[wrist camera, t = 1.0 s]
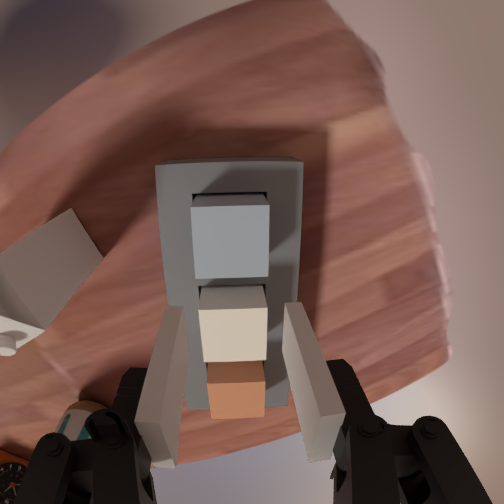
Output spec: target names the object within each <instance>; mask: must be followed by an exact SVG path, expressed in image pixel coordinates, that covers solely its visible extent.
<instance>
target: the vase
mask: <svg viewBox="0 0 504 504" xmlns="http://www.w3.org/2000/svg"><path fill="white" fill-rule="evenodd" d="M105 408H106V409H108V408H107V407H105V406H103V405H101V404H99V403H96V402H93V401H87V400H83V401H78V402H75V403H73V404H72V405H71V406H69V407H68V409H67V410H66V411H65V413H64V414H63V416H62V418H61V420H60V421H59V423H58V426H57V428H56V430H55V433H61V434H63V435H65V436H66V437H67V438H68V439H69V440H70V441H75V440H84V439H89V438H91V437H90V435H89V433H88V431H87V430H86V428H85V426H84V424H85V421H86V419H87V417H88V416H89V415H90V414H91V413H93V412H95V411H97V410H100V409H105Z"/></svg>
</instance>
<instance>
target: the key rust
mask: <svg viewBox="0 0 504 504" xmlns="http://www.w3.org/2000/svg"><path fill="white" fill-rule="evenodd" d="M207 390H208V397H209V404H210V411H211V418H212V419H229V418H253V417H264V408H265V375H264V369H263V363H262V360H257V361H234V362H208V368H207Z"/></svg>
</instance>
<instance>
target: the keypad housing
mask: <svg viewBox="0 0 504 504" xmlns="http://www.w3.org/2000/svg"><path fill="white" fill-rule="evenodd" d="M303 163H304V162H303V161H300V160H298V159H295V158H293V157H227V158H198V159H179V160H165V161H163V162H161V163H159V164H157V165H155V178H156V193H157V207H158V219H159V230H160V240H161V250H162V259H163V267H164V276H165V283H166V291H167V298H168V305H169V306H183V313H184V321H185V328H186V336H187V343H188V350H189V358H188V365H187V373H186V381H185V389H184V397H185V401H186V406H187V410H210V404H209V397H208V390H207V368H208V362H204V358H203V350H202V341H201V332H200V322H199V312H198V308H199V301H200V294H201V287H202V286H213V285H246V284H262V285H263V290H264V294H265V298H266V303H267V307H268V313H267V349H266V360H262V363H263V369H264V375H265V408H268V407H280V406H287V404H288V394H289V385H290V381H289V377H288V373H287V369H286V365H285V361H284V357H283V353H282V342H283V325H284V308H285V303H291V302H297V292H298V277H299V260H300V242H301V222H302V197H303ZM224 192H262V193H263V195H264V196H265V198H266V200H267V202H268V203H269V205H270V207H269V269H268V277H244V278H211V279H195V268H194V255H193V240H192V225H191V208H190V207H191V205H192V203H193V201H194V199H195V197H196V195H197V193H224Z"/></svg>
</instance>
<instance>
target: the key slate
mask: <svg viewBox="0 0 504 504" xmlns="http://www.w3.org/2000/svg"><path fill="white" fill-rule="evenodd" d="M269 207H270V205H269V203H268V202H267V200H266V198H265V196H264V195H263V193H262V192H224V193H197V195H196V197H195V199H194V201H193V203H192V205H191V207H190V208H191V225H192V240H193V255H194V268H195V279H211V278H244V277H268V269H269Z"/></svg>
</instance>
